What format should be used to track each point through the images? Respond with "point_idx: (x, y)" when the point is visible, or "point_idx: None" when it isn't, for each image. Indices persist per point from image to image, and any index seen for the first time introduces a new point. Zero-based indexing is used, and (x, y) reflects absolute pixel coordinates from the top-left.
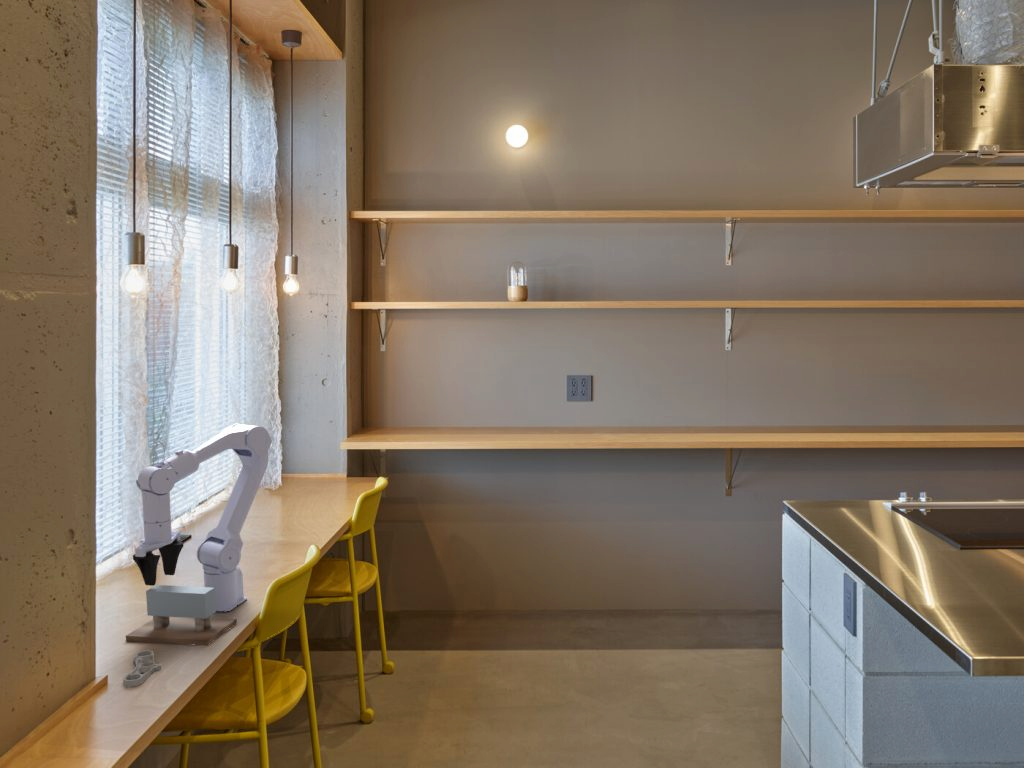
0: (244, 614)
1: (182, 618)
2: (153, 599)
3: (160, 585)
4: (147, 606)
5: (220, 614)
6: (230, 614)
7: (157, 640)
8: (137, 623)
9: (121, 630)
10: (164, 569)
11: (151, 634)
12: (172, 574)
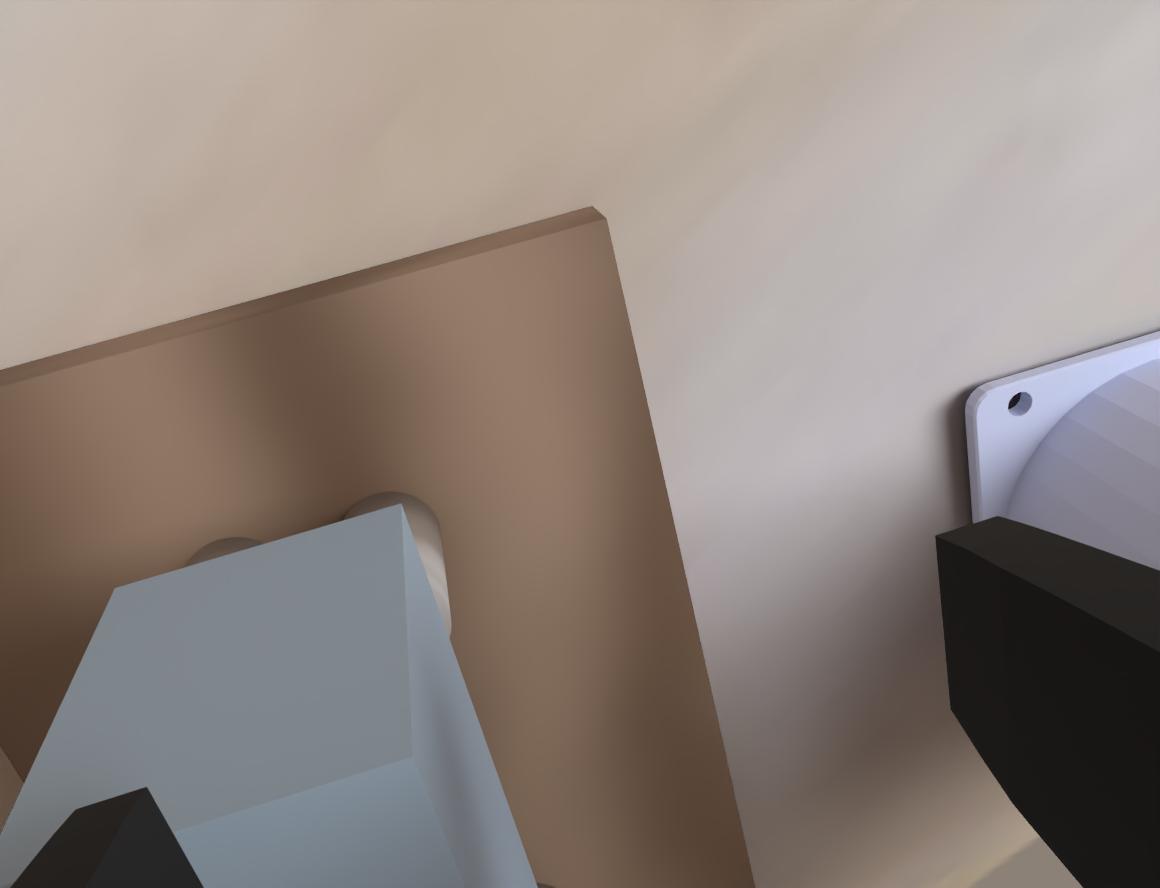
0: (970, 822)
1: (600, 575)
2: None
3: (423, 837)
4: (79, 681)
5: (924, 657)
6: (945, 730)
7: None
8: (364, 4)
9: (53, 9)
10: (1021, 606)
11: (53, 672)
12: (960, 713)
